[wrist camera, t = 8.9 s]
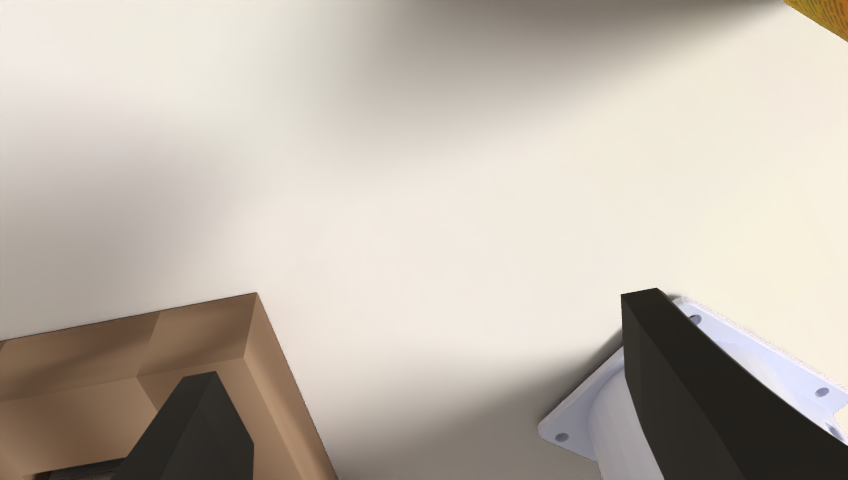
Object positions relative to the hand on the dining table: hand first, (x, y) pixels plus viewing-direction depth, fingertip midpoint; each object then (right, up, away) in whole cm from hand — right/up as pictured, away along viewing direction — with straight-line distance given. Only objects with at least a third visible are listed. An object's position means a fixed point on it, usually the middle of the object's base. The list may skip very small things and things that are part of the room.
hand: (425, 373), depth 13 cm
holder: (-10, -5, +14) cm, 19 cm away
